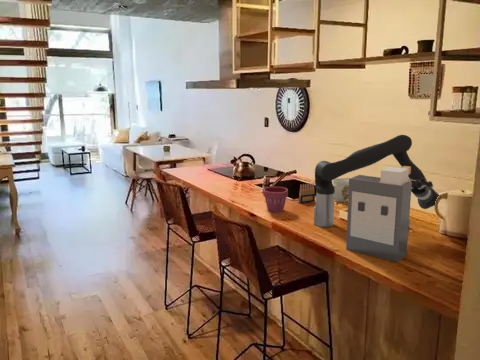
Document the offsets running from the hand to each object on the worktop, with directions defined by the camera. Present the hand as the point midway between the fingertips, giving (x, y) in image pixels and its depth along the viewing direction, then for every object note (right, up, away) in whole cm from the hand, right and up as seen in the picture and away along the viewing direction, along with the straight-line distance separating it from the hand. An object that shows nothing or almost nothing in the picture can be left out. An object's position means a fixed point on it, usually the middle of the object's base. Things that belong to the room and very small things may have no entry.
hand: (411, 178), depth 190 cm
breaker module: (-10, 0, -12) cm, 16 cm away
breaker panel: (-18, -32, -5) cm, 37 cm away
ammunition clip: (-35, -15, +74) cm, 83 cm away
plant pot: (-56, -19, +58) cm, 83 cm away
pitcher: (-15, -14, +75) cm, 77 cm away
